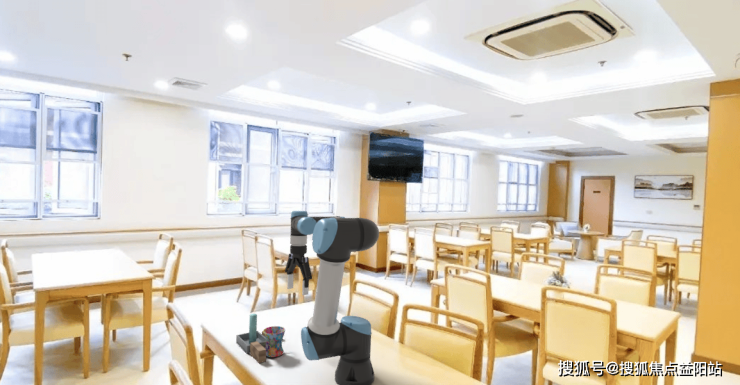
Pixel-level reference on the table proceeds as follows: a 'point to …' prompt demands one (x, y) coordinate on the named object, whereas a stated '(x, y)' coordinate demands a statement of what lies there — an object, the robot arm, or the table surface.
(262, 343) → the tray
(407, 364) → the table surface
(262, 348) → the block
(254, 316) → the dowel
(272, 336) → the mug
